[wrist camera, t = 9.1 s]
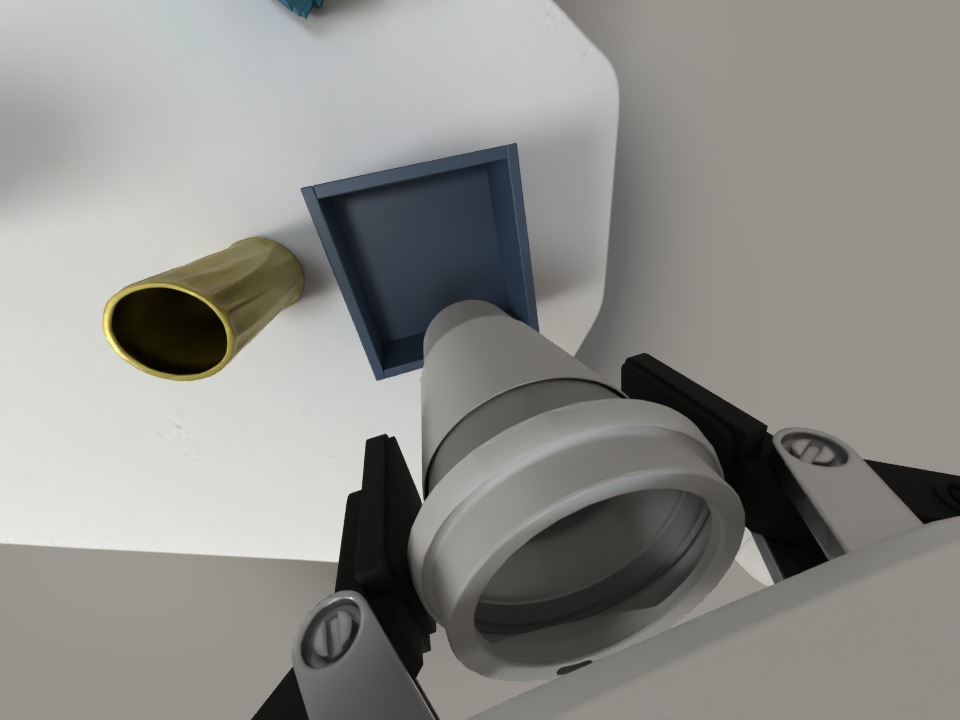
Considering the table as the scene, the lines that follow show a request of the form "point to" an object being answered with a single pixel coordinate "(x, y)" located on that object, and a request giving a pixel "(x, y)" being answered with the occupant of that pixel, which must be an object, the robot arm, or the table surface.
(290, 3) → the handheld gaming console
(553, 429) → the cup
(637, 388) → the robot arm
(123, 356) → the vase
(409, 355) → the bin
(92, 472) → the table surface
